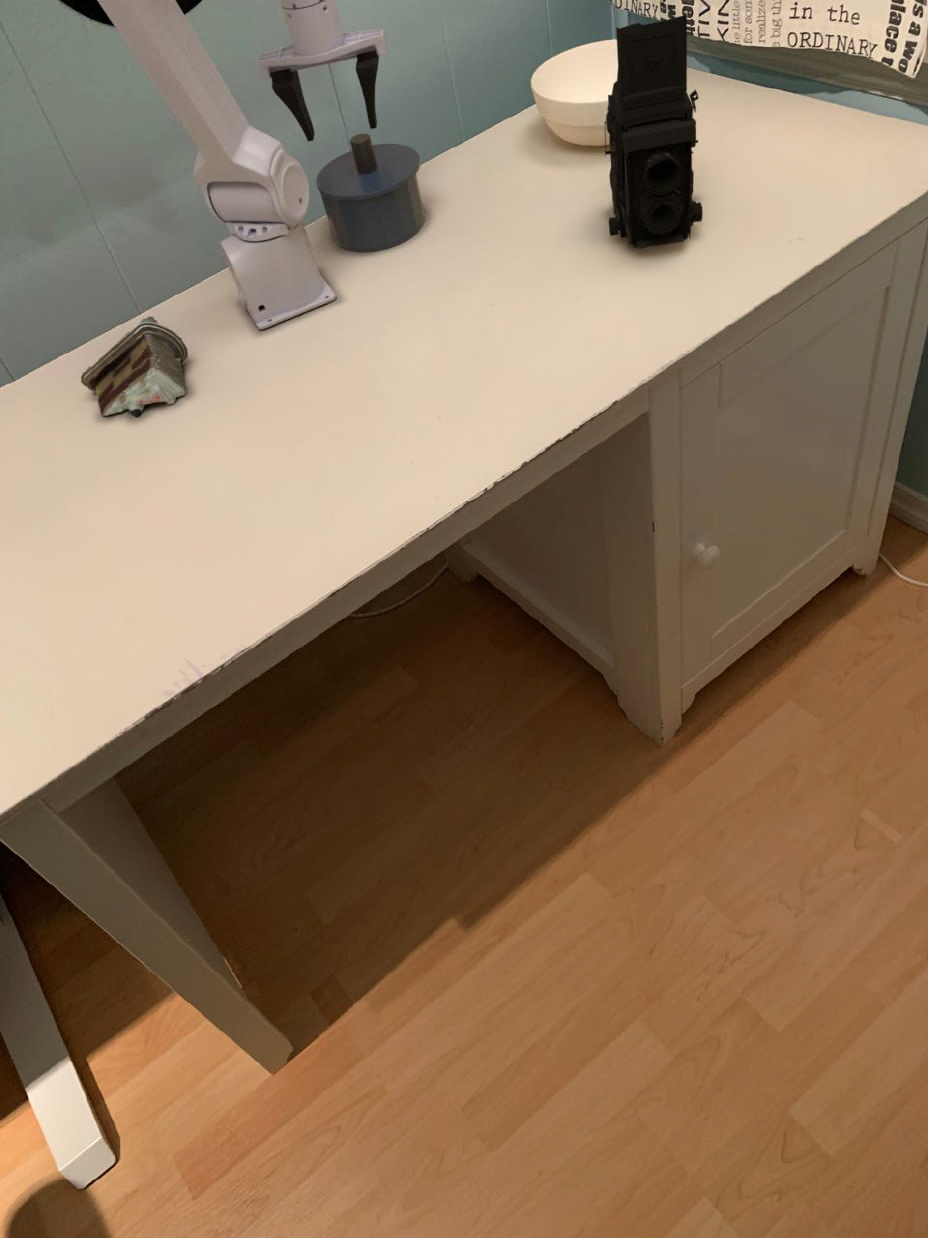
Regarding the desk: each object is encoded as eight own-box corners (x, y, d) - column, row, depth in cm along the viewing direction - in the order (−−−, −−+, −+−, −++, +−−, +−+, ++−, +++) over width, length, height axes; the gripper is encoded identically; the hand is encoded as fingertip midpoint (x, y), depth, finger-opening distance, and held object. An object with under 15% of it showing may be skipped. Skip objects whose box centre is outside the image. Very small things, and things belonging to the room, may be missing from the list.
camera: (615, 271, 93) (607, 63, 78) (602, 208, 101) (592, 9, 86) (711, 256, 92) (723, 41, 76) (690, 193, 100) (696, -12, 85)
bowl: (689, 94, 116) (691, 32, 110) (666, 163, 105) (666, 98, 100) (555, 101, 121) (550, 43, 116) (520, 167, 111) (513, 106, 106)
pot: (353, 263, 104) (337, 210, 99) (322, 225, 111) (306, 174, 106) (439, 227, 105) (428, 173, 100) (403, 193, 112) (391, 141, 107)
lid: (341, 217, 99) (329, 176, 95) (304, 179, 106) (292, 140, 103) (439, 176, 101) (431, 135, 97) (395, 142, 108) (386, 102, 105)
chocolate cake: (84, 436, 92) (123, 359, 84) (75, 384, 95) (112, 305, 87) (172, 451, 98) (216, 380, 91) (161, 402, 101) (203, 329, 93)
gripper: (374, -28, 95) (402, 105, 106) (246, 0, 97) (287, 128, 107) (371, -7, 91) (401, 130, 101) (238, 22, 93) (281, 154, 103)
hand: (342, 131), depth 104 cm, fingers open, 7 cm apart
